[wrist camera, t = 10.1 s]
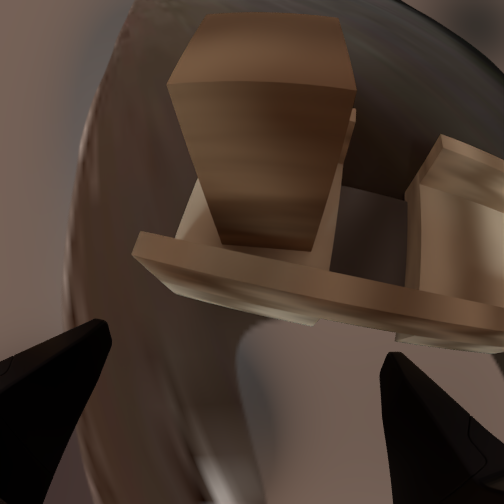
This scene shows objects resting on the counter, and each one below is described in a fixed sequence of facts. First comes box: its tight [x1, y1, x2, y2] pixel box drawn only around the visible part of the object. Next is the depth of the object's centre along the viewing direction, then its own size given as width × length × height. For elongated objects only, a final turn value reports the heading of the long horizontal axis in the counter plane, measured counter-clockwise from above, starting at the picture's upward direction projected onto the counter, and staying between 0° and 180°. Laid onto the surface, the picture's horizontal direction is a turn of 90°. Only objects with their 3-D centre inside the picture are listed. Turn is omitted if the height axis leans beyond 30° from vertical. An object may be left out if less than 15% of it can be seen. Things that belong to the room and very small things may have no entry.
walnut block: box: [167, 12, 357, 252], centre depth 13 cm, size 5×5×11 cm
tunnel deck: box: [131, 108, 504, 354], centre depth 17 cm, size 24×11×7 cm, turn 76°
